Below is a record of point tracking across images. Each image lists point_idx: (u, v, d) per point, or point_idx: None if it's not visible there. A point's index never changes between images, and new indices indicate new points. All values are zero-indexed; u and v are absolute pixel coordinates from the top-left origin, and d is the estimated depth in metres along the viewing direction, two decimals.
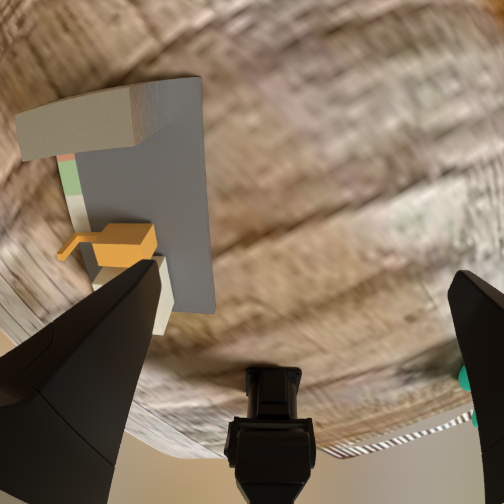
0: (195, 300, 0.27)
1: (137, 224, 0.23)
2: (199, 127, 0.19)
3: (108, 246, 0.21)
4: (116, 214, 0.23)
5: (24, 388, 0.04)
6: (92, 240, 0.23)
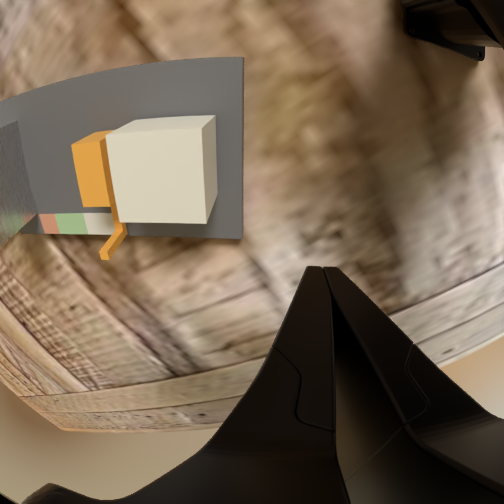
0: (215, 82, 0.16)
1: None
2: (19, 94, 0.16)
3: (81, 185, 0.16)
4: None
5: (318, 436, 0.03)
6: (117, 212, 0.20)
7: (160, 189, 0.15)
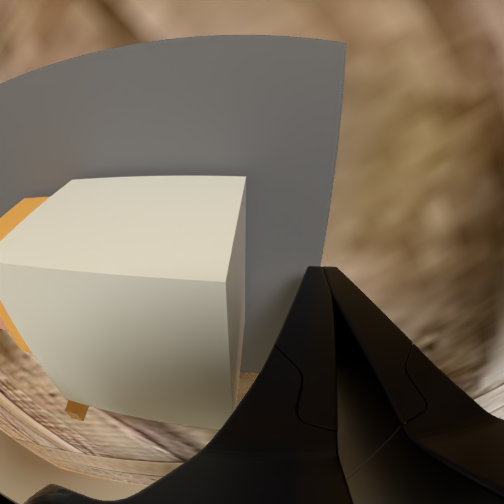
0: (277, 98, 0.07)
1: None
2: None
3: (6, 320, 0.07)
4: None
5: (318, 436, 0.03)
6: None
7: (127, 382, 0.06)
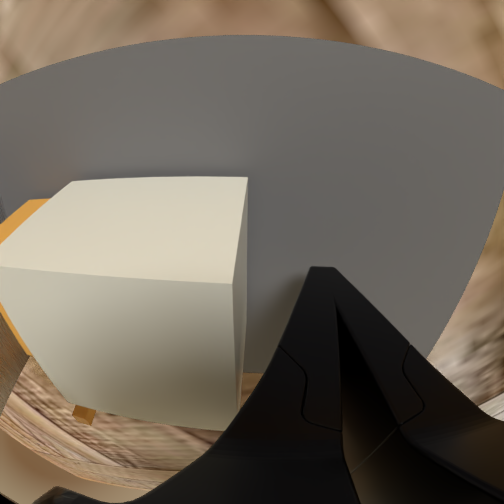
0: (482, 134, 0.06)
1: None
2: None
3: (12, 325, 0.07)
4: None
5: (324, 436, 0.03)
6: None
7: (131, 385, 0.06)
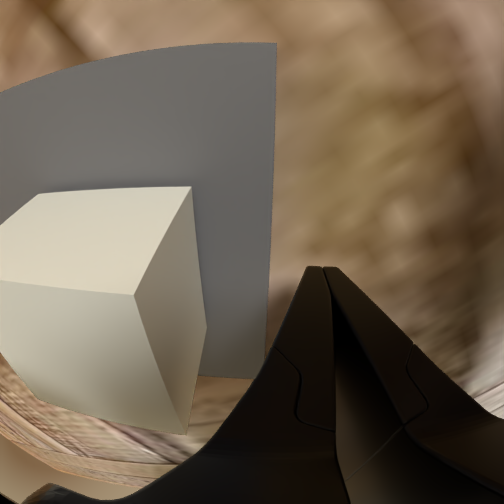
0: (208, 106, 0.07)
1: None
2: None
3: None
4: None
5: (317, 436, 0.03)
6: None
7: (80, 384, 0.06)
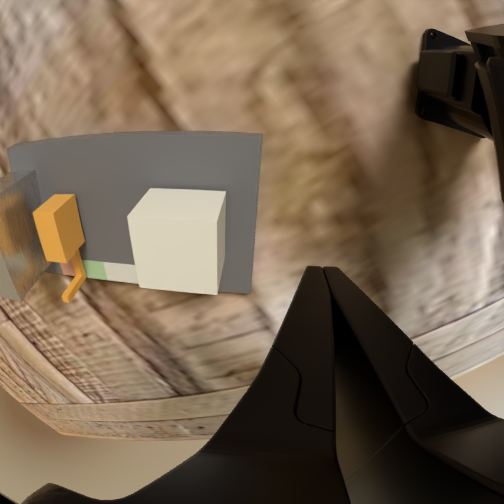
0: (234, 161, 0.18)
1: None
2: (36, 144, 0.18)
3: (43, 245, 0.19)
4: (117, 232, 0.22)
5: (317, 436, 0.03)
6: (76, 261, 0.22)
7: (177, 266, 0.18)
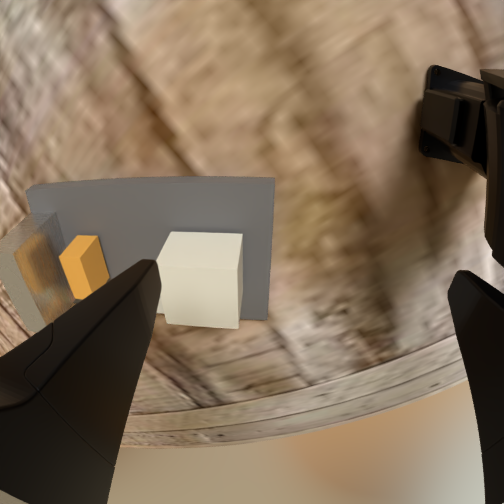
0: (249, 206, 0.20)
1: None
2: (55, 188, 0.20)
3: (71, 284, 0.21)
4: None
5: (24, 389, 0.04)
6: None
7: (202, 306, 0.20)
